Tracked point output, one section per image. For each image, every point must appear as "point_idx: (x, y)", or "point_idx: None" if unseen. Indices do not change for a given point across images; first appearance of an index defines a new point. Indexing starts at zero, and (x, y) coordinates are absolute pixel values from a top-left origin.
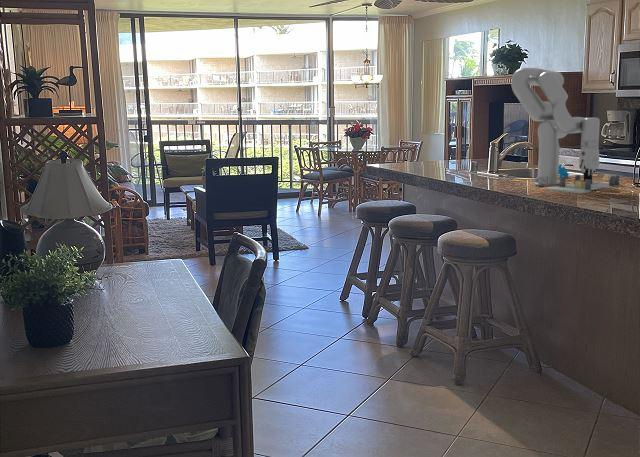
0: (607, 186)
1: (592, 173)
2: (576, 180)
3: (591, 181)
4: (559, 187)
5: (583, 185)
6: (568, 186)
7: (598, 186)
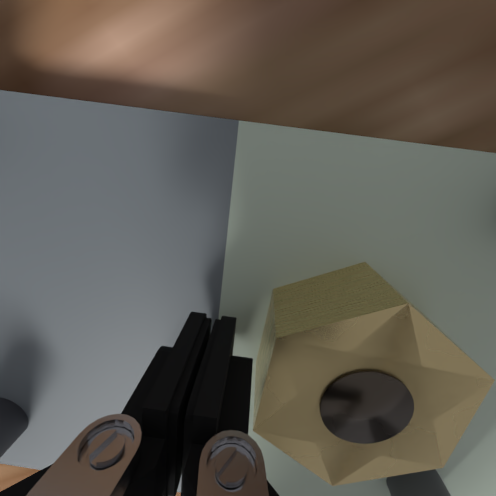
0: (70, 133)
1: (76, 458)
2: (369, 472)
3: (190, 329)
4: (477, 484)
5: (432, 322)
6: None
7: (153, 226)
